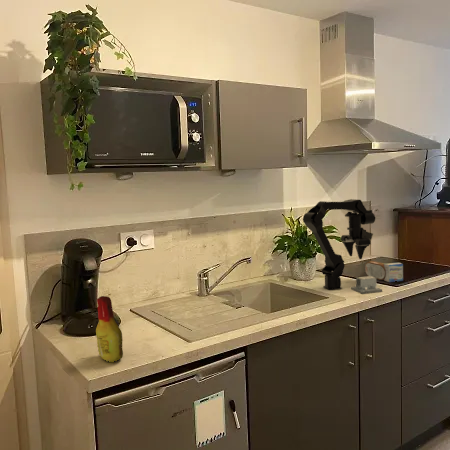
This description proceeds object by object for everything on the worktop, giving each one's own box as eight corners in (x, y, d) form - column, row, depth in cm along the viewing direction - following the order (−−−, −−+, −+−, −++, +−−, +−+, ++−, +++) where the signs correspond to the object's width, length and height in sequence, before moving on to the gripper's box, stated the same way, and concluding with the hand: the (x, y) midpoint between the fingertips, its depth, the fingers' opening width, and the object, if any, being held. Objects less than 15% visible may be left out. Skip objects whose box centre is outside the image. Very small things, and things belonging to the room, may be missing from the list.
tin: (390, 280, 230) (389, 264, 229) (385, 281, 229) (385, 264, 228) (368, 275, 244) (368, 259, 243) (363, 276, 242) (363, 260, 241)
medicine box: (388, 282, 227) (388, 265, 226) (383, 280, 231) (383, 263, 230) (403, 281, 228) (403, 263, 227) (398, 279, 233) (397, 262, 232)
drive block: (360, 290, 211) (360, 279, 211) (356, 288, 215) (356, 277, 215) (376, 288, 213) (376, 277, 212) (371, 286, 217) (371, 275, 216)
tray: (362, 293, 208) (362, 288, 208) (351, 289, 218) (351, 283, 218) (382, 291, 210) (382, 286, 210) (370, 286, 220) (370, 281, 220)
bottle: (92, 356, 149) (87, 295, 147) (111, 351, 153) (106, 291, 151) (108, 367, 139) (103, 301, 137) (128, 361, 143) (123, 297, 141)
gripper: (380, 226, 217) (381, 259, 219) (360, 222, 235) (360, 253, 237) (359, 227, 214) (359, 261, 216) (340, 224, 233) (340, 255, 234)
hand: (355, 257), depth 226 cm, fingers open, 9 cm apart
